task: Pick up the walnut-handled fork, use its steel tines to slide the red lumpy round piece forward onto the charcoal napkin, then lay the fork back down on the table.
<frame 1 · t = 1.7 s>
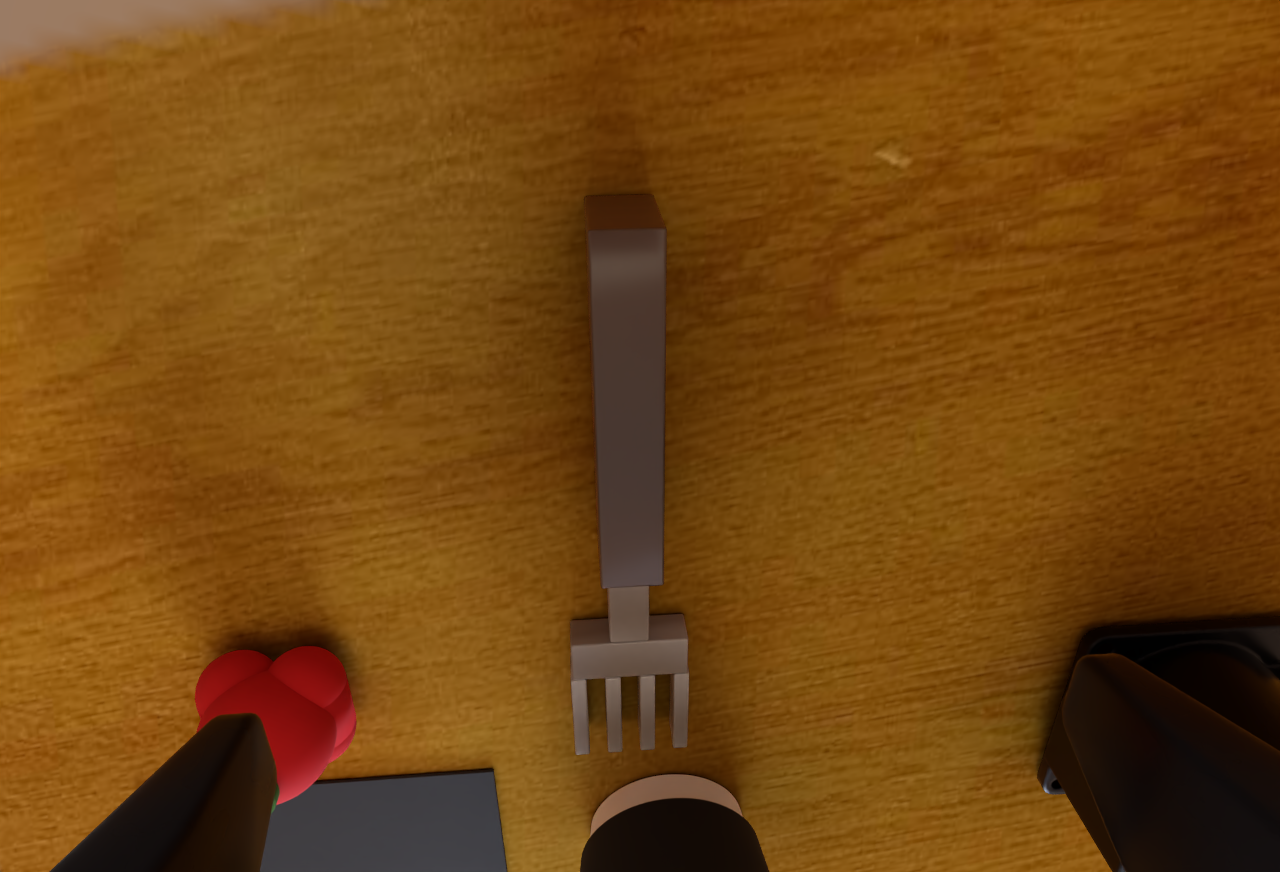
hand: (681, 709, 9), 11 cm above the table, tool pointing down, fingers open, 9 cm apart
dixie cup: (665, 820, 27), on the table
fork: (624, 488, 21), on the table
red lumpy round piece: (289, 679, 23), on the table
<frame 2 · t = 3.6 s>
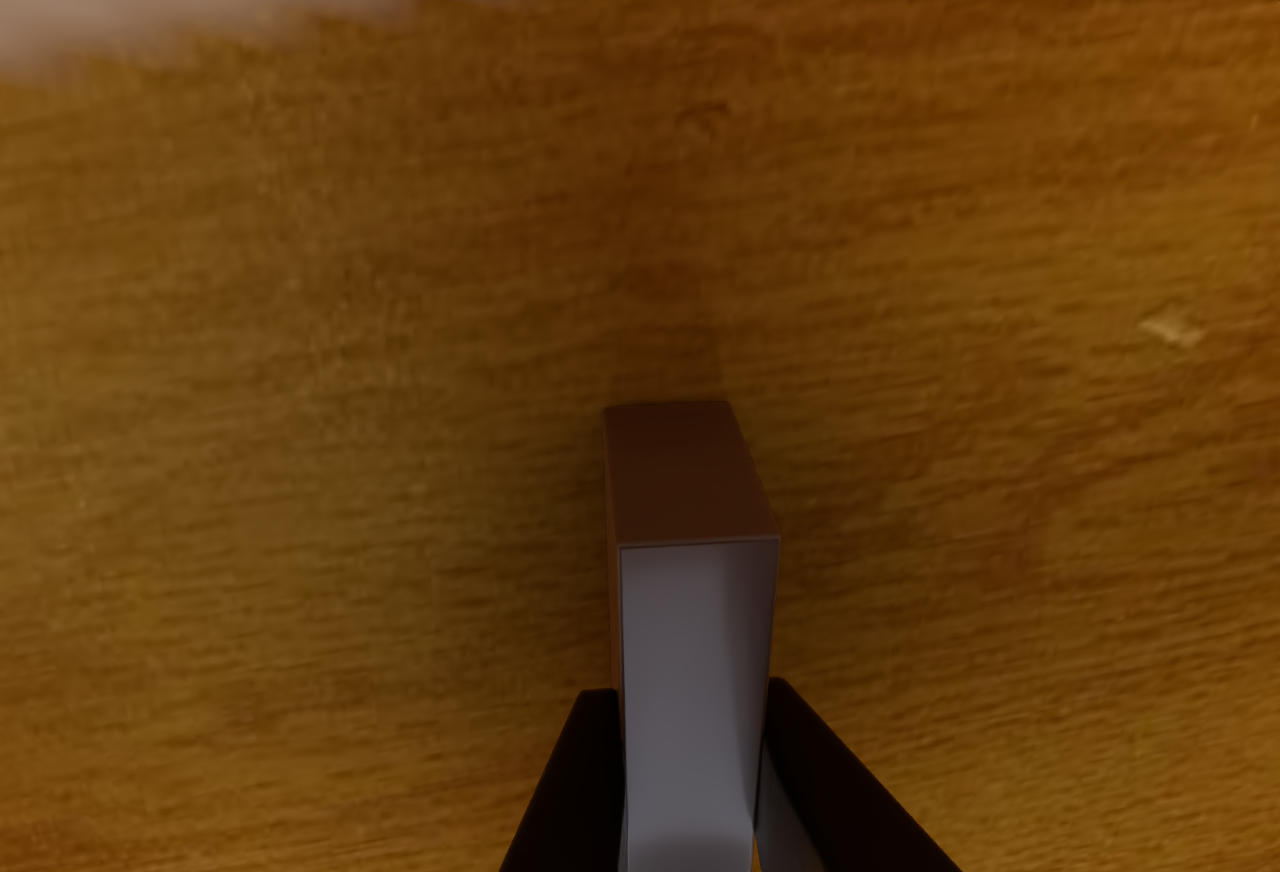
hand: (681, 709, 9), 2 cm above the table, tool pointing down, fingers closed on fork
fork: (663, 822, 13), on the table, touching gripper
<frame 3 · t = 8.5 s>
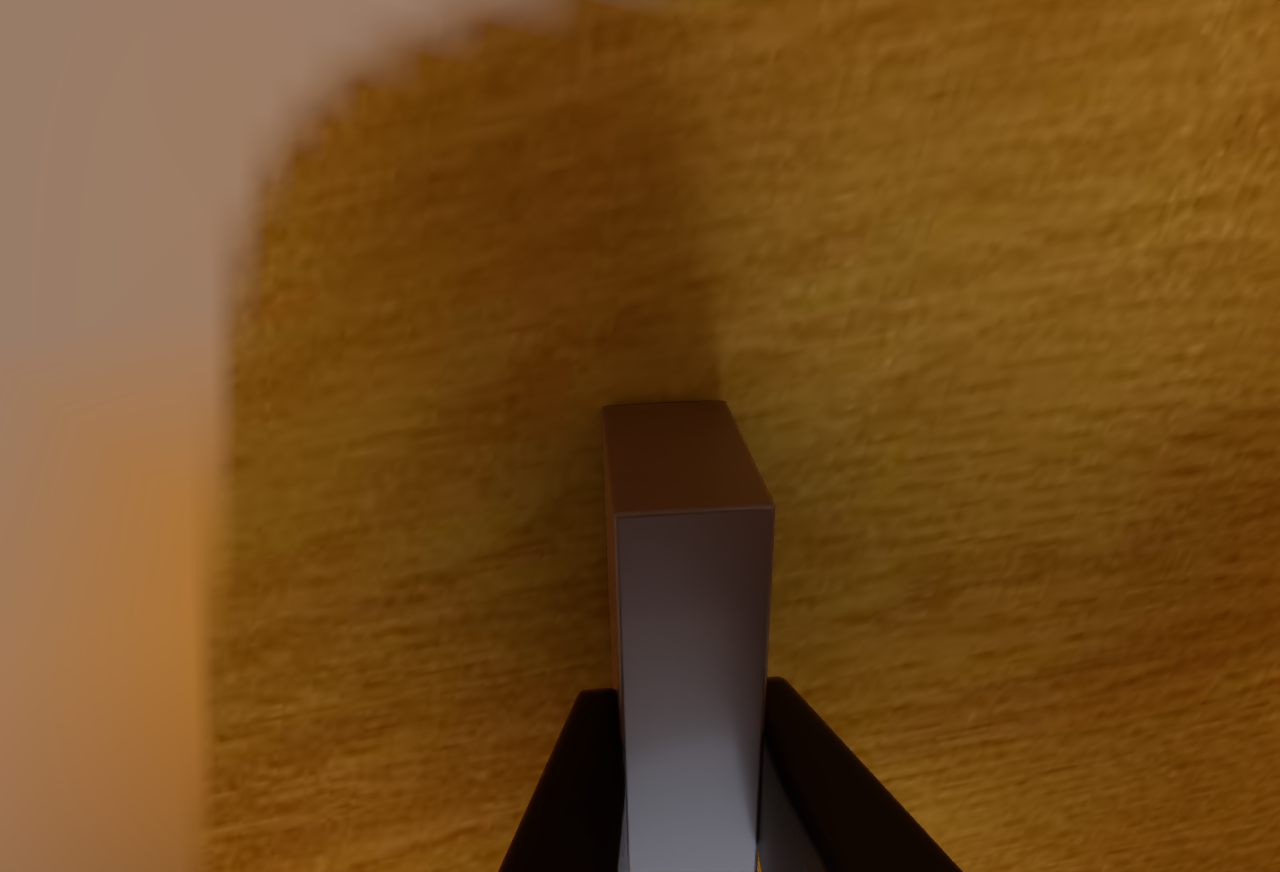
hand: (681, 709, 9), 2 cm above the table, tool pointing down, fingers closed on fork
fork: (667, 853, 12), point 1 cm above the table, tilted 6°, touching gripper
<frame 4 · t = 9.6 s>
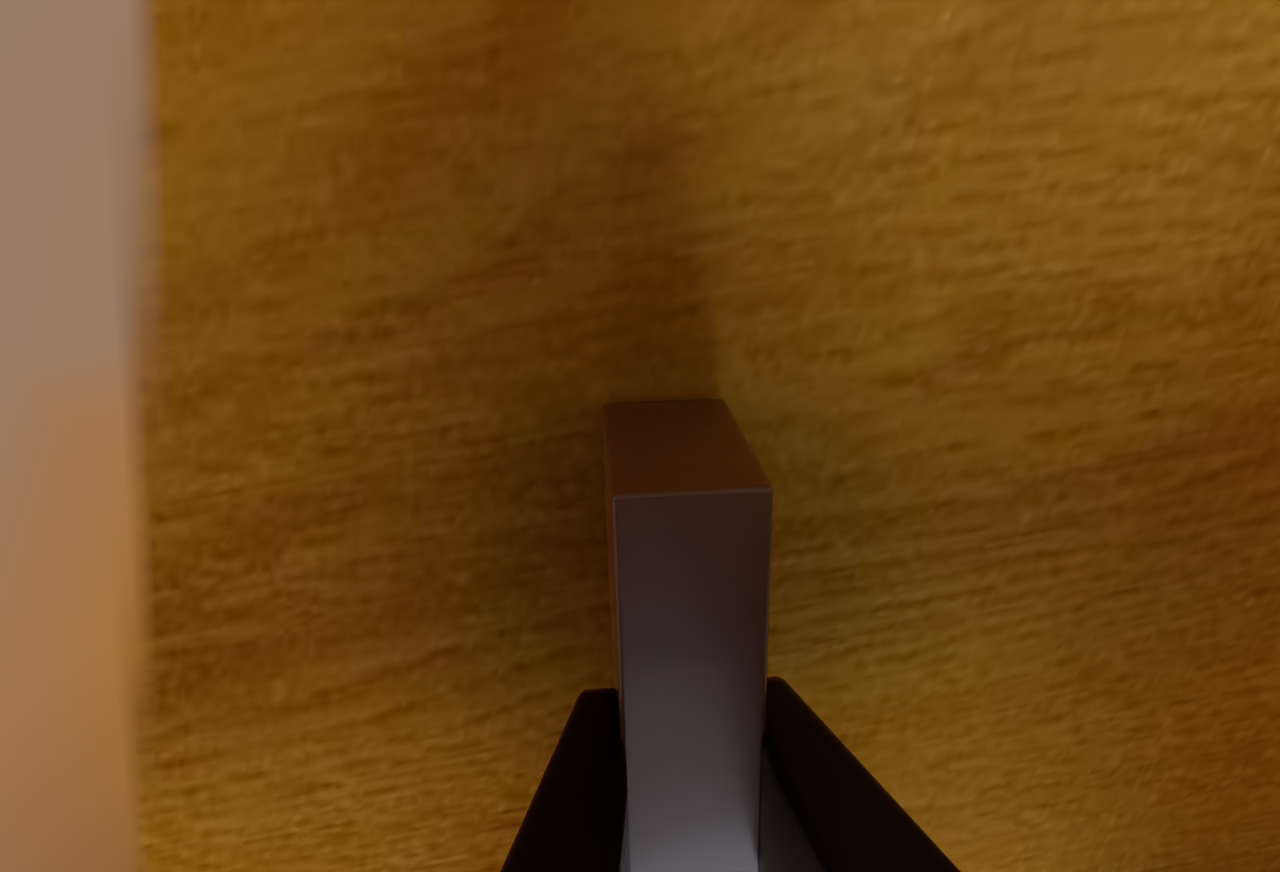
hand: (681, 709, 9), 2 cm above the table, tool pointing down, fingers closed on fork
fork: (670, 871, 12), point 1 cm above the table, tilted 9°, touching gripper, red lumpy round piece
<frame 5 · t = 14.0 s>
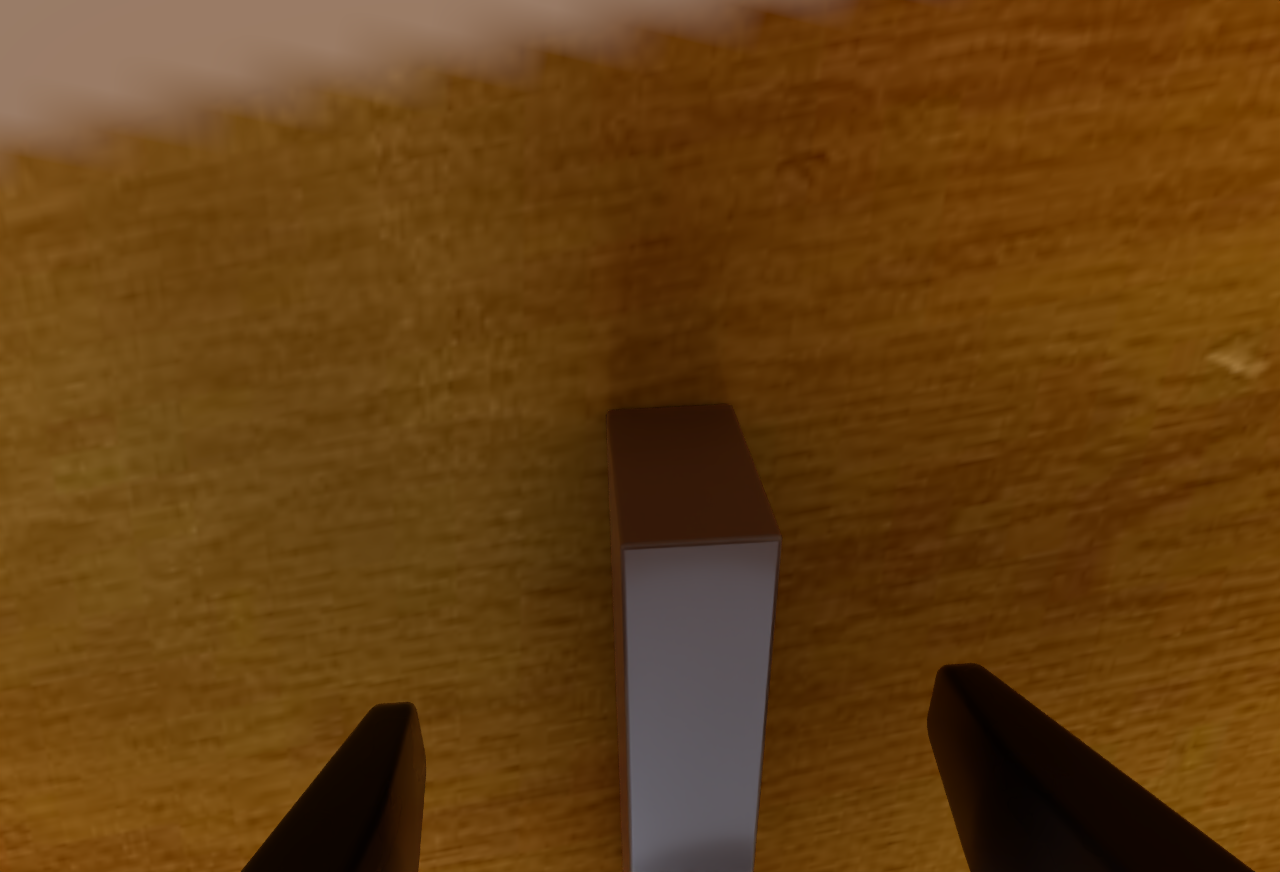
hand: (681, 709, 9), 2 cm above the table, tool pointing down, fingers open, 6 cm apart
fork: (667, 819, 13), on the table
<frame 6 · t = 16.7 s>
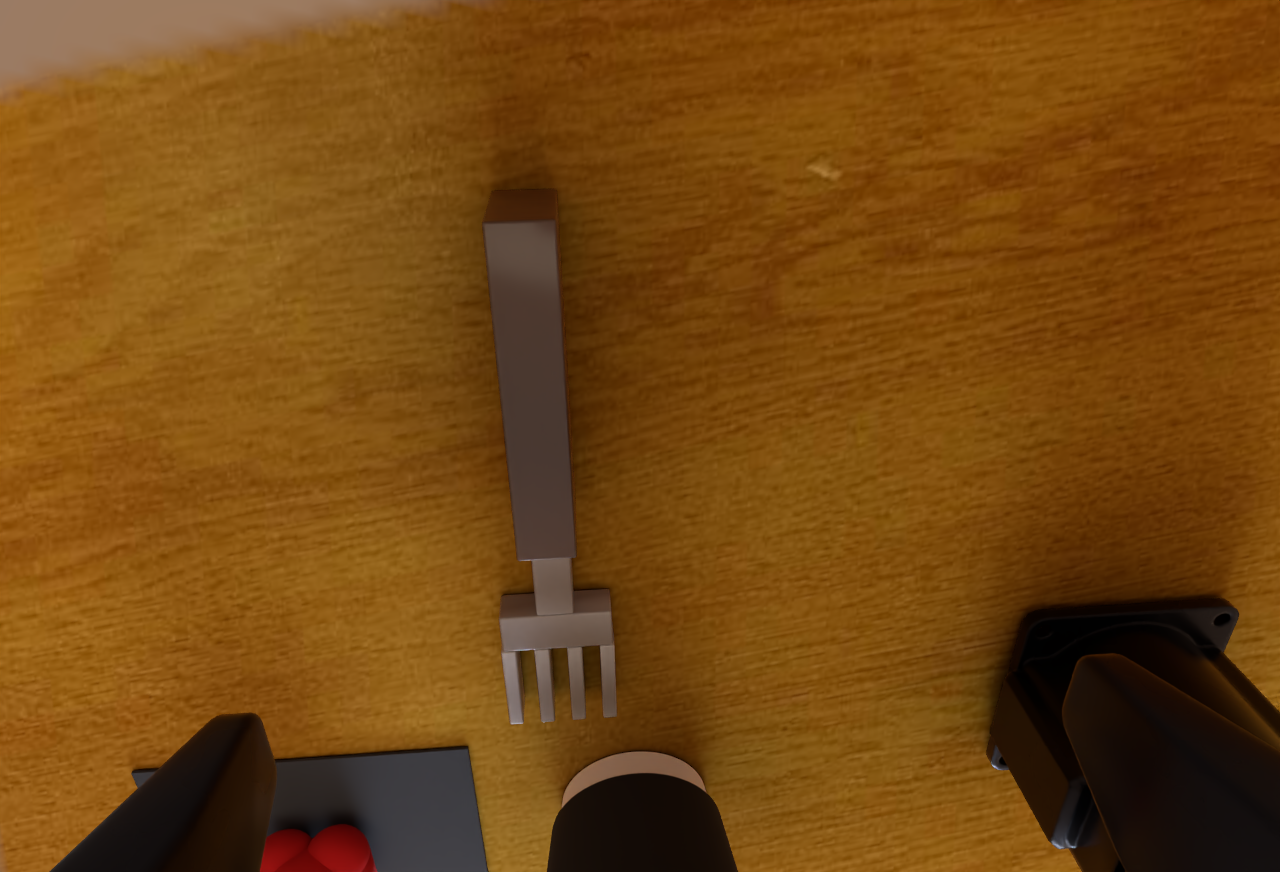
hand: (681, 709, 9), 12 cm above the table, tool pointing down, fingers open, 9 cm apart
dixie cup: (633, 795, 28), on the table
fork: (545, 468, 22), on the table
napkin: (333, 860, 28), on the table
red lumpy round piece: (323, 846, 28), resting on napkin
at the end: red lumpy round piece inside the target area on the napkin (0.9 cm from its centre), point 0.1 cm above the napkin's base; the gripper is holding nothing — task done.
